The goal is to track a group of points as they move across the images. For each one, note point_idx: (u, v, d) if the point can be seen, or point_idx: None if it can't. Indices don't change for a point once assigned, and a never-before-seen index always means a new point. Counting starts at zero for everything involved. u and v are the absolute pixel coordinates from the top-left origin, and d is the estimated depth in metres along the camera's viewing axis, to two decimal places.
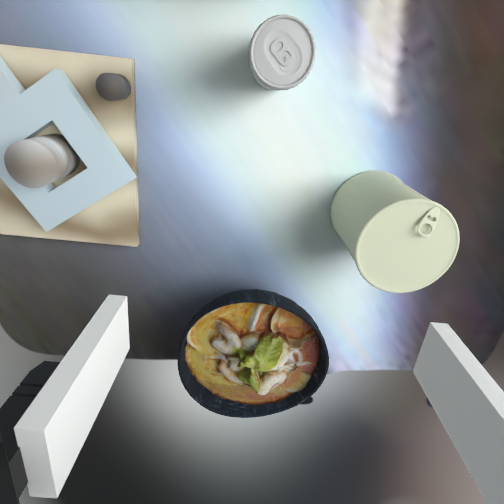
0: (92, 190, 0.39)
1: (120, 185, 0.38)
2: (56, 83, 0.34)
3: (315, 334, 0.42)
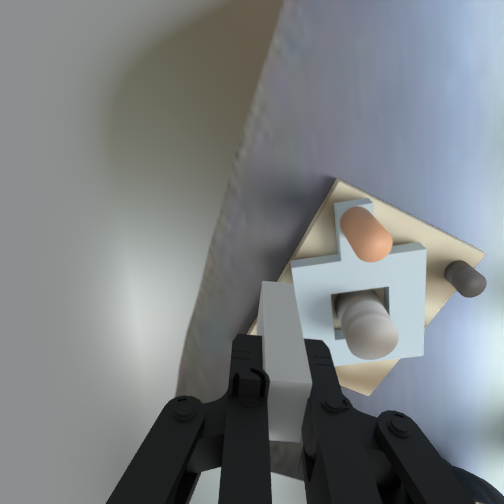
0: None
1: (408, 356, 0.37)
2: (418, 260, 0.33)
3: None
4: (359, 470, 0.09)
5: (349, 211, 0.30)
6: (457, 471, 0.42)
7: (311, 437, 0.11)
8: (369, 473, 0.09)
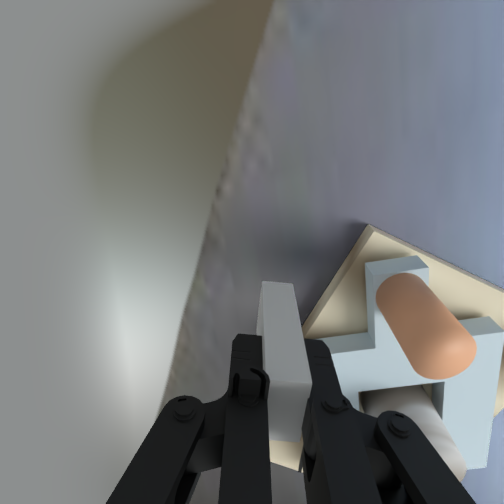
0: None
1: None
2: (491, 347, 0.22)
3: None
4: (359, 470, 0.09)
5: (392, 281, 0.19)
6: None
7: (311, 437, 0.11)
8: (369, 473, 0.09)
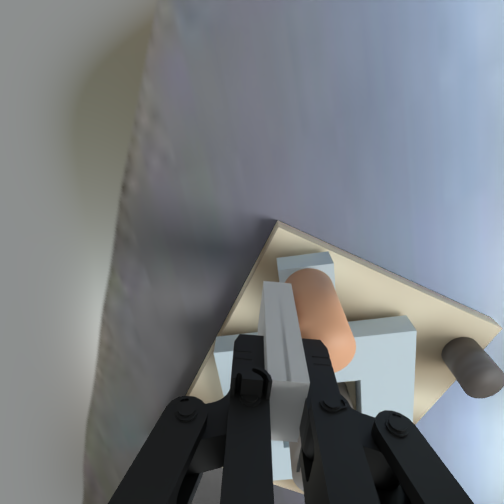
0: None
1: None
2: (403, 346, 0.22)
3: None
4: (357, 470, 0.09)
5: (295, 276, 0.19)
6: None
7: (309, 437, 0.11)
8: (367, 473, 0.09)
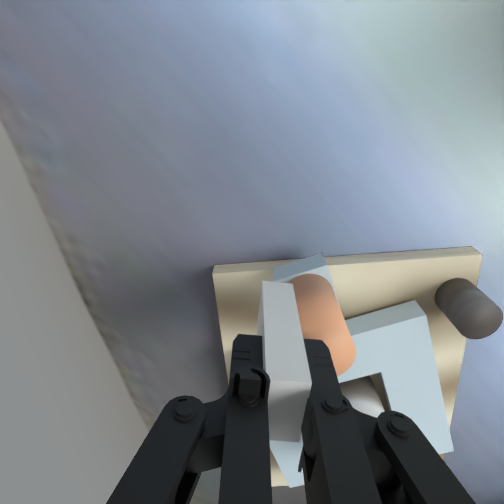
0: None
1: None
2: (416, 331, 0.21)
3: None
4: (359, 470, 0.09)
5: None
6: None
7: (311, 437, 0.11)
8: (369, 473, 0.09)
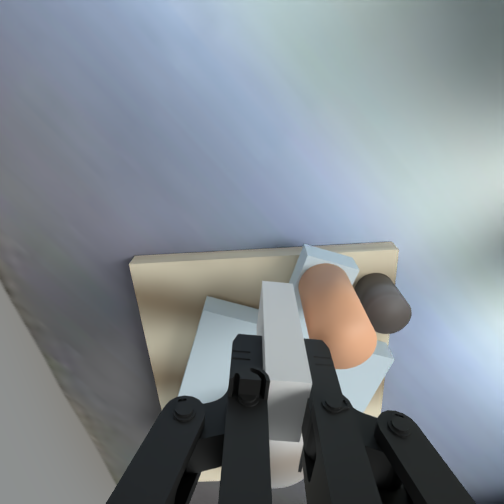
0: None
1: None
2: (377, 369, 0.22)
3: None
4: (359, 470, 0.09)
5: (322, 267, 0.19)
6: None
7: (311, 437, 0.11)
8: (369, 473, 0.09)
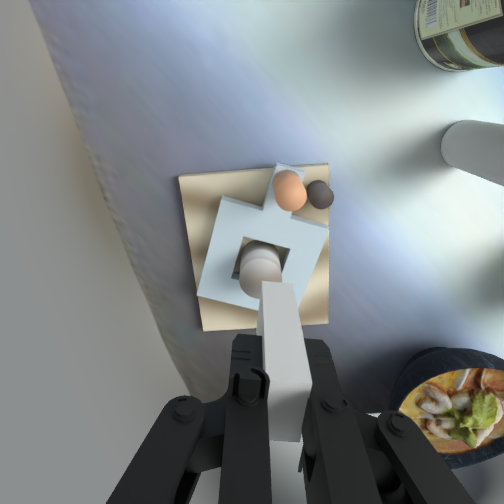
0: None
1: None
2: (320, 236, 0.39)
3: None
4: (359, 470, 0.09)
5: (284, 170, 0.36)
6: (439, 352, 0.44)
7: (311, 437, 0.11)
8: (369, 473, 0.09)
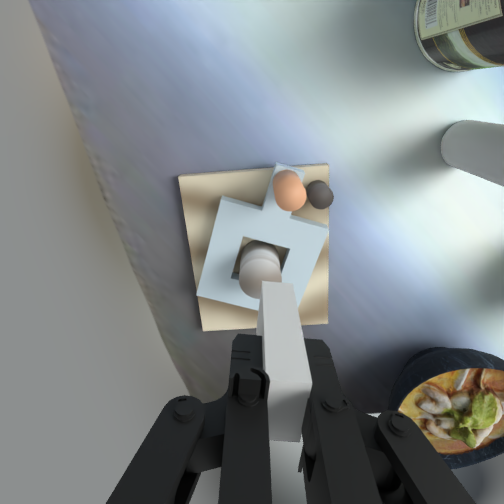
0: None
1: None
2: (319, 236, 0.39)
3: None
4: (359, 470, 0.09)
5: (284, 170, 0.36)
6: (439, 352, 0.44)
7: (311, 437, 0.11)
8: (369, 473, 0.09)
